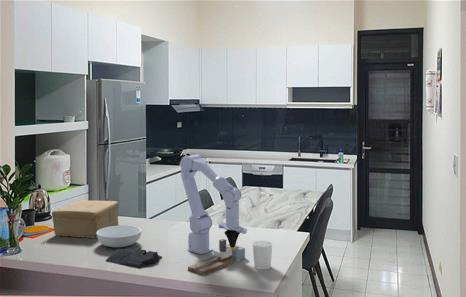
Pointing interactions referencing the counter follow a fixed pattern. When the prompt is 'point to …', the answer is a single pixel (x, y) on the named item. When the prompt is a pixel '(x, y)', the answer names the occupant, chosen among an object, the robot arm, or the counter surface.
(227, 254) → the carriage
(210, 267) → the rail board
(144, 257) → the dark grey folded cloth
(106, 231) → the serving bowl
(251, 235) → the counter surface
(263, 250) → the white cup
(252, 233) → the counter surface
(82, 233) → the paper package
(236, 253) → the cabinet
